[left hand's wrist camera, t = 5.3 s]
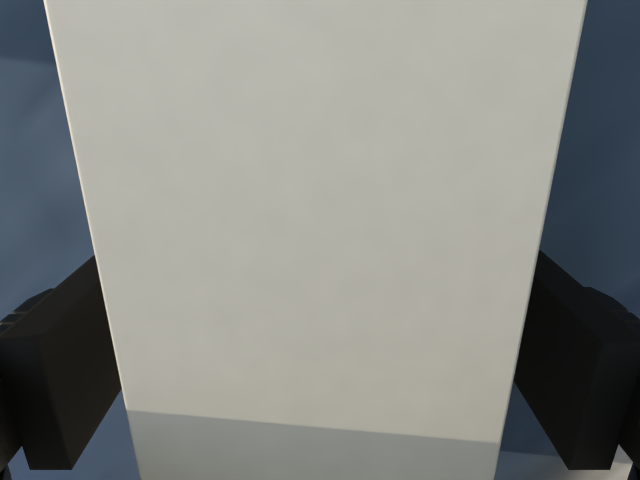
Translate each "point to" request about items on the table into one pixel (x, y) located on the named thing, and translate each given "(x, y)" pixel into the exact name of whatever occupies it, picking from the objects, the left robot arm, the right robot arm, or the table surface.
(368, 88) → the bar
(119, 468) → the table surface
